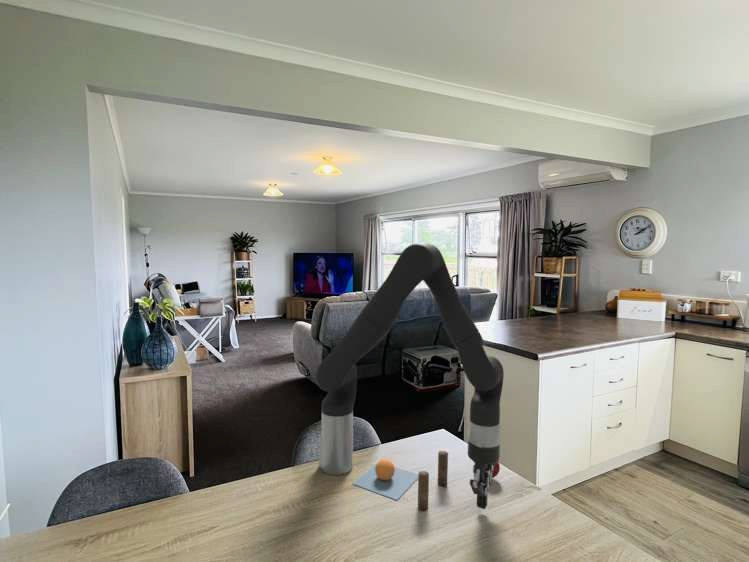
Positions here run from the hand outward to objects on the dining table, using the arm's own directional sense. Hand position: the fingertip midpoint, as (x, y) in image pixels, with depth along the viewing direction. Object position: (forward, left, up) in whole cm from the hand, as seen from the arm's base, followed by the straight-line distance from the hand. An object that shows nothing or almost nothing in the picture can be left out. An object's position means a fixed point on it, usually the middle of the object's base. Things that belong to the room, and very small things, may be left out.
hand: (481, 506), depth 104 cm
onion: (-3, +16, -2) cm, 16 cm away
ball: (-28, 0, +1) cm, 28 cm away
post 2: (-13, +6, -2) cm, 15 cm away
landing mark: (-27, 0, -2) cm, 27 cm away
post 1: (-13, -6, -2) cm, 15 cm away
